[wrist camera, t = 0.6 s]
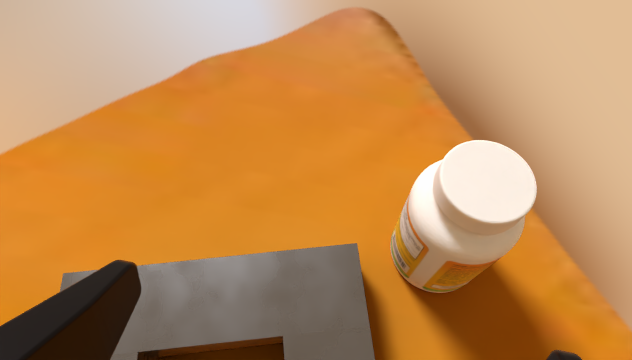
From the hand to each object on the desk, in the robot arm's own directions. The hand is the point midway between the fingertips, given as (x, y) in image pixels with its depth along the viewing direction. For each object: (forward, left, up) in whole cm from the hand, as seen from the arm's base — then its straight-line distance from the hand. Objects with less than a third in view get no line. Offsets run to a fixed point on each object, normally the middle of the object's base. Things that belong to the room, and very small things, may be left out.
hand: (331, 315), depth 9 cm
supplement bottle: (+6, -7, -16) cm, 18 cm away
